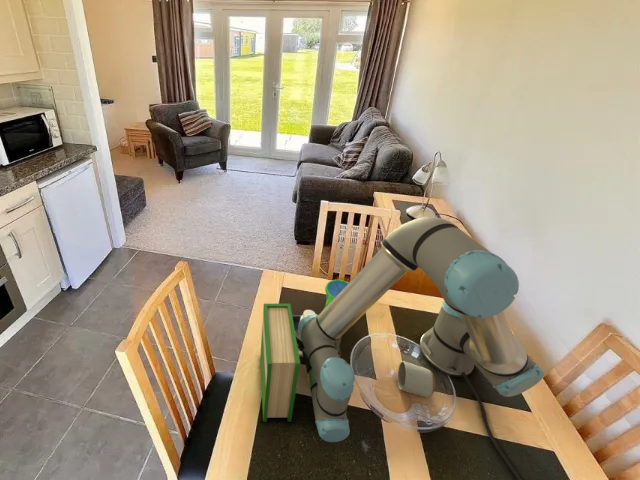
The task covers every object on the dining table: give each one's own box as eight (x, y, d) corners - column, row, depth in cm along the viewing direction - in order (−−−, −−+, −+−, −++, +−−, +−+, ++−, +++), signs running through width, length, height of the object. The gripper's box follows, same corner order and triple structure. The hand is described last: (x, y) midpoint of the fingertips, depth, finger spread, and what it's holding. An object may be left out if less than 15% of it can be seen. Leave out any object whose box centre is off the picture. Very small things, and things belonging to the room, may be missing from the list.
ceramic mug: (430, 404, 88) (438, 387, 84) (399, 396, 90) (406, 379, 86) (422, 369, 97) (429, 352, 94) (394, 362, 99) (400, 346, 95)
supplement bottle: (310, 344, 103) (313, 324, 98) (295, 336, 105) (298, 316, 101) (316, 333, 107) (320, 312, 102) (302, 325, 109) (305, 305, 105)
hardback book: (291, 421, 83) (300, 363, 72) (263, 421, 82) (267, 363, 71) (283, 359, 98) (290, 303, 87) (260, 359, 98) (263, 303, 87)
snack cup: (333, 330, 109) (338, 309, 104) (311, 310, 116) (314, 290, 111) (361, 309, 117) (366, 289, 112) (339, 292, 124) (343, 272, 120)
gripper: (274, 381, 88) (269, 319, 107) (362, 380, 89) (341, 318, 108) (276, 364, 84) (270, 303, 103) (367, 363, 86) (345, 303, 104)
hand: (306, 311), depth 106 cm, fingers open, 13 cm apart
